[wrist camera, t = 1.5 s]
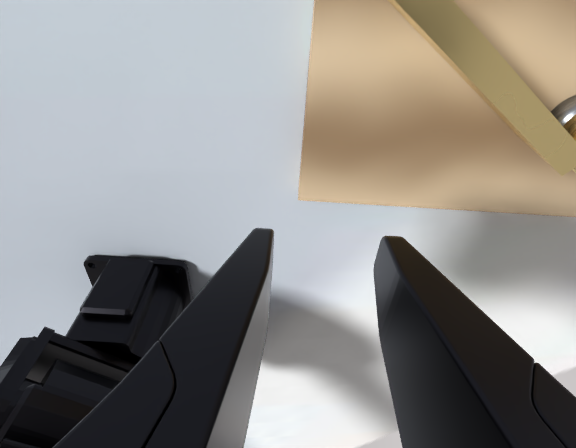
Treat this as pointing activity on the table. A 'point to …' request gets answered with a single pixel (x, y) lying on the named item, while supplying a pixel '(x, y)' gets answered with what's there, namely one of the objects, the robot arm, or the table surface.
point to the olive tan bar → (492, 79)
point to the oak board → (431, 110)
